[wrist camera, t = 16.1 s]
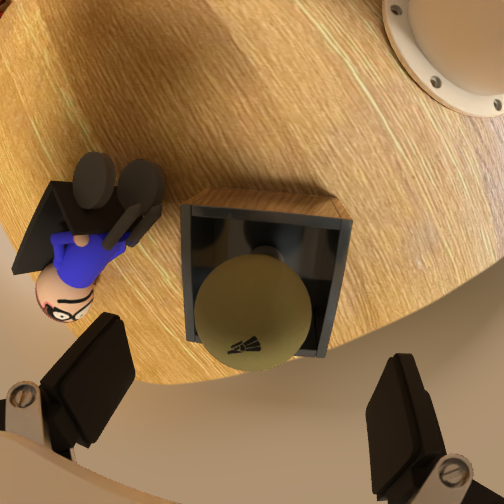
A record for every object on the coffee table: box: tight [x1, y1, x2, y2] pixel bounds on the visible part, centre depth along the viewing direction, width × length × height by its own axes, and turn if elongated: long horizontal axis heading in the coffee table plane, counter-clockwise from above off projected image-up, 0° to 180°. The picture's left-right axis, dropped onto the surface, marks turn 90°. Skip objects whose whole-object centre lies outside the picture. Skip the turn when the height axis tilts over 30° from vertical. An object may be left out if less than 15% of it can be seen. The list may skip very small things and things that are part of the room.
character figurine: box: [12, 151, 165, 323], centre depth 19 cm, size 8×7×15 cm
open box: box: [181, 187, 353, 358], centre depth 19 cm, size 9×9×6 cm
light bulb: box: [194, 245, 312, 372], centre depth 16 cm, size 6×6×10 cm
